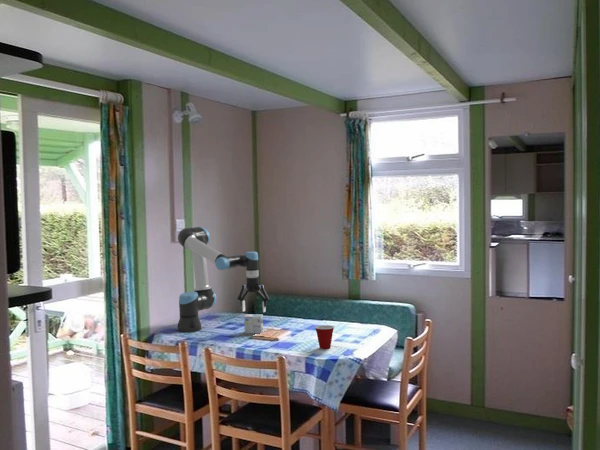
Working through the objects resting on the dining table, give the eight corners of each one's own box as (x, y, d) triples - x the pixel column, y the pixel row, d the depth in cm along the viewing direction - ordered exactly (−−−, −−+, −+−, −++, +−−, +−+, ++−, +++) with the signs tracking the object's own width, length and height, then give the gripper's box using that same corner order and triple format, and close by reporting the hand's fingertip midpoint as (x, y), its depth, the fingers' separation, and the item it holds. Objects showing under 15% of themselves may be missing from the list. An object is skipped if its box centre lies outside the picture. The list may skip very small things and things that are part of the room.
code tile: (239, 335, 314) (239, 335, 314) (248, 330, 327) (248, 329, 327) (270, 337, 307) (270, 337, 307) (278, 331, 321) (278, 331, 321)
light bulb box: (263, 331, 323) (263, 313, 322) (261, 333, 316) (261, 316, 315) (246, 331, 324) (246, 313, 323) (244, 333, 317) (243, 316, 316)
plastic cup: (333, 344, 289) (333, 323, 288) (335, 350, 278) (335, 328, 278) (314, 345, 289) (314, 324, 288) (315, 351, 278) (315, 328, 277)
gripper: (231, 277, 319) (232, 312, 319) (269, 278, 311) (270, 313, 311) (236, 276, 326) (237, 309, 326) (273, 276, 318) (275, 310, 319)
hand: (253, 311), depth 319 cm, fingers open, 13 cm apart
